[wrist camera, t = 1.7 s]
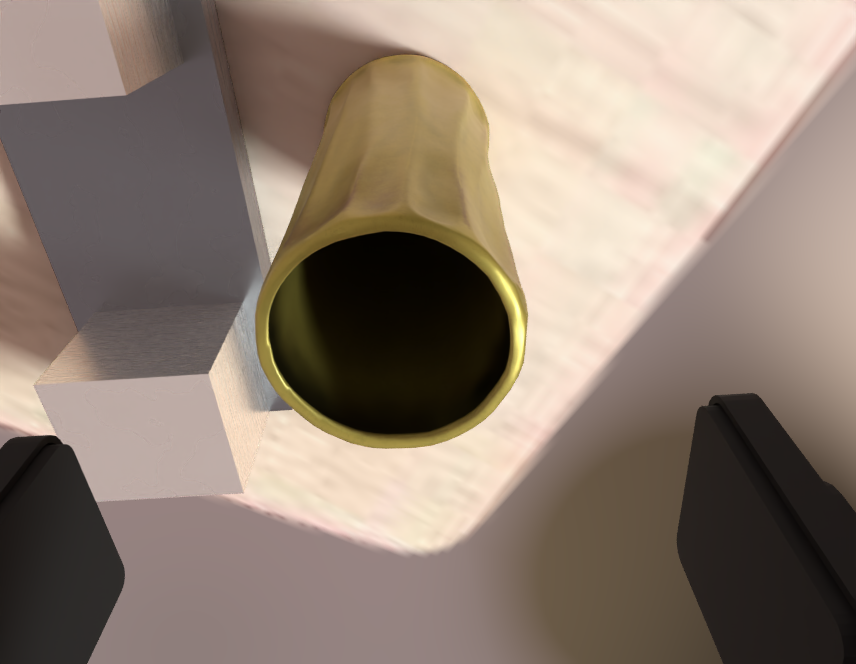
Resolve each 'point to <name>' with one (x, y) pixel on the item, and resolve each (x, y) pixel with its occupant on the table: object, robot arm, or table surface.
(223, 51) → the rail board
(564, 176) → the table surface
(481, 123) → the vase
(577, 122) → the table surface
